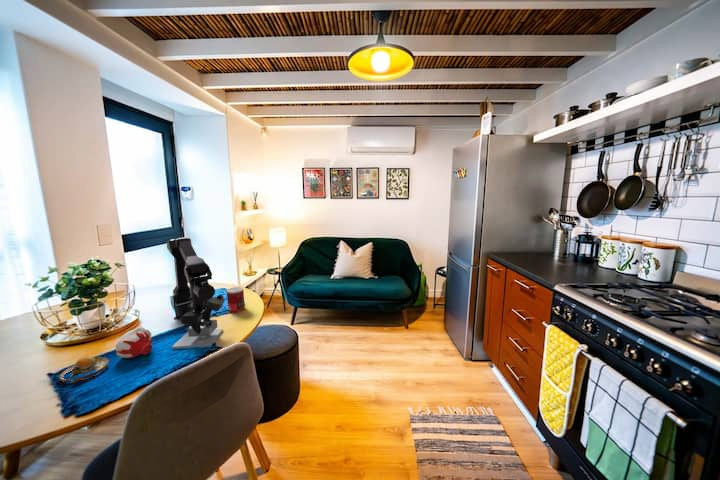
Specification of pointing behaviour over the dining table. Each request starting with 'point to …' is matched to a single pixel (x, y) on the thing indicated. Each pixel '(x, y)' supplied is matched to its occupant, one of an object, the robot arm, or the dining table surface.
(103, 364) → the ringed planet model
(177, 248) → the robot arm
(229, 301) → the canned food
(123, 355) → the red white ovoid
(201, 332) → the link
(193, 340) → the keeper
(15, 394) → the dining table surface
